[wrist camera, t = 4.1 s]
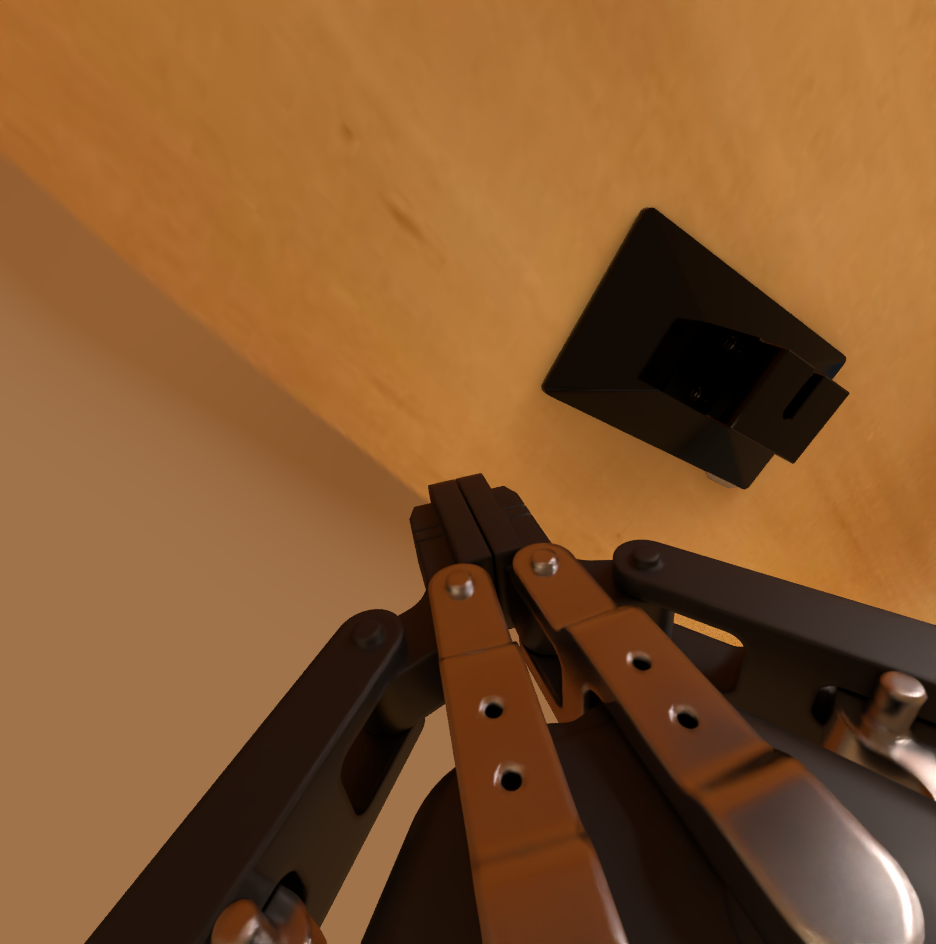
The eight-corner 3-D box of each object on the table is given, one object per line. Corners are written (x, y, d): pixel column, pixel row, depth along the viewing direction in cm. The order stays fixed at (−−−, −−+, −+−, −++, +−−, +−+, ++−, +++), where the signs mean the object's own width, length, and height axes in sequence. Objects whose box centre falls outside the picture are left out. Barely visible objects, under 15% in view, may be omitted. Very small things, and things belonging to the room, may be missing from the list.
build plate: (839, 355, 22) (954, 388, 18) (735, 490, 24) (817, 547, 20) (644, 203, 16) (747, 203, 13) (534, 395, 19) (593, 446, 15)
